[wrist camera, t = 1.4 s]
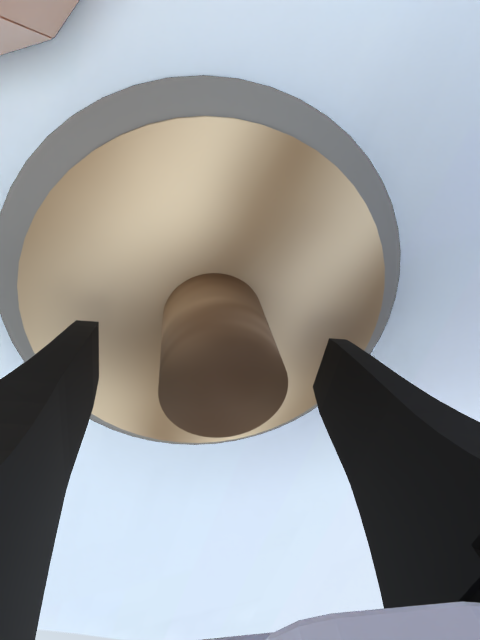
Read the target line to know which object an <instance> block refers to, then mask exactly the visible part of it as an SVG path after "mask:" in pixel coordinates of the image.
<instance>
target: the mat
mask: <svg viewBox="0 0 480 640" xmlns="http://www.w3.org/2000/svg"><path fill="white" fill-rule="evenodd" d="M193 116H217V117H230V118H237V119H241V120H246V121H250V122H254V123H259V124H262V125H265V126H267V127H270V128H272V129H275V130H277V131H280V132H283V133H285V134H288V135H290V136H293V137H294V138H296V139H298V140H300V141H301V142H303V143H305V144H306V145H308V146H310V147H312V148H313V149H315V150H317V151H318V152H319V153H320V154H322V155H323V156H324V157H325V158H327V159H328V160H329V161H330V162H332V163H333V164H334V165H335V166H337V167H338V169H339V170H340V171H341V172H342V173H343V174H344V175H345V176H346V177H347V178H348V180H349V181H350V182H351V183H352V184H353V185H354V187H355V188H356V190H357V191H358V193H359V194H360V196H361V197H362V199H363V200H364V202H365V203H366V205H367V207H368V209H369V211H370V213H371V215H372V218H373V220H374V222H375V224H376V227H377V230H378V234H379V237H380V241H381V245H382V250H383V257H384V265H385V285H384V294H383V301H382V307H381V311H380V314H379V317H378V321H377V324H376V327H375V329H374V332H373V334H372V336H371V339H370V341H369V343H368V345H367V347H366V348H365V350H364V351H365V352H367V353H368V354H370V353H371V352H372V350H373V348H374V347H375V345H376V343H377V342H378V340H379V338H380V337H381V335H382V332H383V330H384V328H385V326H386V324H387V321H388V319H389V317H390V313H391V310H392V307H393V304H394V301H395V297H396V292H397V287H398V281H399V275H400V242H399V232H398V226H397V222H396V218H395V214H394V210H393V206H392V203H391V200H390V198H389V196H388V193H387V191H386V188H385V186H384V184H383V181H382V179H381V178H380V176H379V174H378V173H377V171H376V169H375V168H374V166H373V164H372V163H371V161H370V160H369V158H368V157H367V155H366V154H365V153H364V152H363V151H362V149H361V148H360V147H359V146H358V145H357V144H356V142H355V141H354V140H353V139H352V138H351V136H350V135H348V134H347V133H346V132H345V131H344V130H343V129H342V128H340V127H339V126H338V125H337V124H336V123H335V122H333V121H332V120H331V119H330V118H329V117H328V116H326V115H325V114H323V113H321V112H320V111H318V110H317V109H315V108H313V107H312V106H310V105H309V104H307V103H305V102H304V101H302V100H300V99H298V98H296V97H293V96H291V95H289V94H286V93H284V92H282V91H279V90H277V89H275V88H272V87H269V86H265V85H261V84H257V83H253V82H249V81H246V80H242V79H237V78H226V77H215V76H204V75H203V76H187V77H171V78H165V79H160V80H156V81H151V82H147V83H142V84H138V85H134V86H131V87H129V88H126V89H124V90H121V91H119V92H116V93H113V94H111V95H108V96H106V97H103V98H101V99H100V100H98V101H96V102H94V103H93V104H91V105H89V106H88V107H86V108H84V109H83V110H81V111H79V112H78V113H76V114H74V115H73V116H71V117H70V118H69V119H68V120H67V121H65V122H64V123H63V124H62V125H61V126H59V127H58V128H57V129H56V130H55V131H53V132H52V133H51V134H50V135H49V136H47V138H46V139H45V140H44V141H43V142H42V143H41V145H40V146H39V147H38V148H37V149H36V150H35V152H34V153H33V154H32V155H31V156H30V157H29V159H28V160H27V161H26V162H25V164H24V166H23V167H22V169H21V171H20V172H19V174H18V176H17V177H16V179H15V181H14V182H13V184H12V186H11V187H10V190H9V192H8V195H7V197H6V200H5V202H4V205H3V208H2V210H1V213H0V313H1V317H2V320H3V323H4V325H5V327H6V329H7V332H8V334H9V336H10V338H11V341H12V343H13V344H14V346H15V348H16V349H17V351H18V352H19V354H20V356H21V357H22V359H23V360H24V362H26V361H27V360H29V359H30V358H31V357H32V356H34V355H35V353H34V352H33V350H32V347H31V345H30V342H29V340H28V338H27V335H26V333H25V330H24V327H23V323H22V318H21V314H20V310H19V302H18V290H17V281H18V267H19V260H20V256H21V252H22V247H23V243H24V239H25V236H26V234H27V232H28V229H29V227H30V225H31V223H32V220H33V218H34V216H35V214H36V212H37V210H38V209H39V207H40V206H41V204H42V203H43V201H44V200H45V198H46V197H47V195H48V193H49V192H50V191H51V190H52V188H53V187H54V186H55V185H56V184H57V183H58V182H59V181H60V180H61V178H62V177H63V176H64V175H65V174H66V173H67V172H68V171H69V170H70V169H71V168H72V167H74V166H75V165H76V164H77V163H79V162H80V161H81V160H82V159H84V158H85V157H86V156H87V155H89V154H90V153H91V152H92V151H94V150H95V149H97V148H98V147H100V146H102V145H104V144H105V143H107V142H109V141H110V140H112V139H114V138H116V137H117V136H119V135H121V134H123V133H126V132H129V131H131V130H134V129H136V128H139V127H141V126H144V125H147V124H150V123H155V122H159V121H164V120H168V119H173V118H178V117H193ZM317 406H318V405H317V404H315V405H314V406H313V407H311V408H310V409H308V410H307V411H305V412H304V413H302V414H300V415H299V416H297V417H295V418H293V419H291V420H290V421H288V422H286V423H283V424H281V425H279V426H277V427H274V428H272V429H269V430H266V431H264V432H261V433H258V434H255V435H251V436H247V437H243V438H239V439H234V440H227V441H220V442H208V443H181V442H172V441H164V440H158V439H153V438H149V437H145V436H141V435H138V434H135V433H132V432H129V431H126V430H123V429H120V428H118V427H116V426H114V425H112V424H109V423H107V422H105V421H103V420H101V419H100V418H98V417H96V416H95V415H93V414H91V416H90V419H91V420H93V421H94V422H97V423H99V424H101V425H103V426H106V427H108V428H110V429H112V430H115V431H118V432H121V433H124V434H127V435H130V436H133V437H137V438H142V439H146V440H151V441H156V442H164V443H171V444H192V445H198V444H215V443H222V442H229V441H236V440H240V439H244V438H248V437H252V436H256V435H259V434H262V433H265V432H268V431H271V430H274V429H276V428H279V427H281V426H283V425H285V424H288V423H290V422H292V421H294V420H296V419H298V418H299V417H301V416H303V415H305V414H306V413H308V412H310V411H312V410H313V409H314V408H316V407H317Z"/></svg>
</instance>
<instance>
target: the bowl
mask: <svg viewBox="0 0 480 640" xmlns="http://www.w3.org/2000/svg"><path fill="white" fill-rule="evenodd" d="M78 1H79V0H0V55H3V54H6V53H9V52H12V51H16V50H19V49H22V48H25V47H29V46H32V45H35V44H38V43H42V42H45V41H48V40H51V39H52V38H54V37H55V36H56V34H57V33H58V31H59V30H60V28H61V27H62V25H63V24H64V22H65V21H66V19H67V18H68V16H69V15H70V13H71V12H72V10H73V9H74V7H75V6H76V4H77V3H78Z"/></svg>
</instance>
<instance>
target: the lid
mask: <svg viewBox="0 0 480 640" xmlns="http://www.w3.org/2000/svg"><path fill="white" fill-rule="evenodd" d="M384 285H385V265H384V257H383V250H382V245H381V241H380V237H379V234H378V230H377V227H376V224H375V222H374V220H373V218H372V215H371V213H370V211H369V209H368V207H367V205H366V203H365V202H364V200H363V199H362V197H361V196H360V194H359V193H358V191H357V190H356V188H355V187H354V185H353V184H352V183H351V182H350V181H349V180H348V178H347V177H346V176H345V175H344V174H343V173H342V172H341V171H340V170H339V169H338V167H337V166H335V165H334V164H333V163H332V162H330V161H329V160H328V159H327V158H325V157H324V156H323V155H322V154H320V153H319V152H318V151H317V150H315V149H313V148H312V147H310V146H308V145H306V144H305V143H303V142H301V141H300V140H298V139H296V138H294V137H293V136H290V135H288V134H285V133H283V132H280V131H277V130H275V129H272V128H270V127H267V126H265V125H262V124H259V123H254V122H250V121H246V120H241V119H237V118H230V117H217V116H193V117H178V118H173V119H168V120H164V121H159V122H155V123H150V124H147V125H144V126H141V127H139V128H136V129H134V130H131V131H129V132H126V133H123V134H121V135H119V136H117V137H116V138H114V139H112V140H110V141H109V142H107V143H105V144H104V145H102V146H100V147H98V148H97V149H95V150H94V151H92V152H91V153H90V154H89V155H87V156H86V157H85V158H84V159H82V160H81V161H80V162H79V163H77V164H76V165H75V166H74V167H72V168H71V169H70V170H69V171H68V172H67V173H66V174H65V175H64V176H63V177H62V178H61V180H60V181H59V182H58V183H57V184H56V185H55V186H54V187H53V188H52V190H51V191H50V192H49V193H48V195H47V197H46V198H45V200H44V201H43V203H42V204H41V206H40V207H39V209H38V210H37V212H36V214H35V216H34V218H33V220H32V223H31V225H30V227H29V229H28V232H27V234H26V236H25V239H24V243H23V247H22V252H21V256H20V260H19V267H18V281H17V290H18V302H19V310H20V314H21V318H22V323H23V327H24V330H25V333H26V335H27V338H28V340H29V342H30V345H31V347H32V350H33V352H34V353H35V354H36V353H37V352H39V351H40V350H41V349H42V348H44V347H45V346H46V345H47V344H49V343H50V342H51V341H52V340H53V339H55V338H56V337H57V336H58V335H59V334H60V333H61V332H63V331H64V330H65V329H66V328H67V327H68V326H70V325H71V324H72V323H73V322H75V321H76V320H81V321H95V322H99V381H98V386H97V391H96V396H95V401H94V406H93V410H92V413H91V414H93V415H95V416H96V417H98V418H100V419H101V420H103V421H105V422H107V423H109V424H112V425H114V426H116V427H118V428H120V429H123V430H126V431H129V432H132V433H135V434H138V435H141V436H145V437H149V438H153V439H158V440H164V441H172V442H181V443H208V442H220V441H227V440H234V439H239V438H243V437H247V436H251V435H255V434H258V433H261V432H264V431H266V430H269V429H272V428H274V427H277V426H279V425H281V424H283V423H286V422H288V421H290V420H291V419H293V418H295V417H297V416H299V415H300V414H302V413H304V412H305V411H307V410H308V409H310V408H311V407H313V406H314V405H315V404H317V402H316V398H315V394H314V390H313V384H314V381H315V378H316V375H317V372H318V369H319V366H320V364H321V361H322V358H323V355H324V352H325V349H326V346H327V343H328V340H329V338H333V339H346V340H348V341H350V342H352V343H353V344H355V345H356V346H358V347H360V348H361V349H362V350H365V348H366V347H367V345H368V343H369V341H370V339H371V336H372V334H373V332H374V329H375V327H376V324H377V321H378V317H379V314H380V311H381V307H382V301H383V294H384Z"/></svg>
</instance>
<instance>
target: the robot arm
mask: <svg viewBox="0 0 480 640" xmlns="http://www.w3.org/2000/svg"><path fill="white" fill-rule="evenodd" d="M98 381H99V322H95V321H81V320H76V321H75V322H73V323H72V324H71V325H70V326H68V327H67V328H66V329H65V330H64V331H63V332H61V333H60V334H59V335H58V336H57V337H56V338H55V339H53V340H52V341H51V342H50V343H49V344H47V345H46V346H45V347H44V348H42V349H41V350H40V351H39V352H37V353H36V354H35V355H34V356H32V357H31V358H30V359H29V360H27V361H26V362H25V363H23V364H22V365H20V366H19V367H18V368H16V369H15V370H13V371H12V372H11V373H9V374H8V375H6V376H5V377H3V378H2V379H0V640H35V636H36V631H37V626H38V621H39V615H40V610H41V605H42V600H43V595H44V590H45V586H46V581H47V576H48V571H49V566H50V561H51V556H52V552H53V547H54V542H55V538H56V533H57V528H58V524H59V519H60V515H61V511H62V506H63V502H64V497H65V493H66V489H67V486H68V482H69V479H70V475H71V472H72V469H73V466H74V463H75V460H76V457H77V454H78V451H79V448H80V446H81V443H82V440H83V437H84V434H85V431H86V428H87V425H88V422H89V419H90V416H91V413H92V410H93V406H94V401H95V396H96V391H97V386H98ZM313 390H314V394H315V398H316V402H317V405H318V409H319V412H320V415H321V417H322V420H323V422H324V424H325V427H326V429H327V431H328V434H329V436H330V438H331V441H332V443H333V445H334V447H335V450H336V452H337V454H338V456H339V459H340V461H341V463H342V465H343V468H344V470H345V472H346V475H347V477H348V480H349V482H350V485H351V488H352V491H353V494H354V497H355V500H356V503H357V507H358V510H359V513H360V516H361V519H362V523H363V526H364V530H365V533H366V537H367V540H368V544H369V547H370V551H371V555H372V559H373V563H374V567H375V571H376V575H377V579H378V583H379V587H380V592H381V596H382V601H383V606H384V609H376V610H365V611H354V612H343V613H333V614H327V615H322V616H318V617H313V618H308V619H304V620H299V621H297V622H295V623H293V624H290V625H288V626H286V627H284V628H282V629H280V630H278V631H276V632H273V633H263V634H253V635H243V636H234V637H224V638H214V639H204V640H480V422H478V421H476V420H474V419H472V418H470V417H468V416H466V415H464V414H462V413H460V412H458V411H457V410H455V409H453V408H451V407H449V406H448V405H446V404H444V403H442V402H440V401H439V400H437V399H435V398H434V397H432V396H430V395H429V394H427V393H425V392H424V391H422V390H421V389H419V388H418V387H416V386H414V385H413V384H411V383H410V382H408V381H407V380H405V379H404V378H402V377H401V376H399V375H398V374H397V373H395V372H394V371H392V370H391V369H389V368H388V367H387V366H385V365H384V364H382V363H381V362H380V361H378V360H377V359H375V358H374V357H373V356H371V355H370V354H368V353H367V352H365V351H364V350H362V349H361V348H360V347H358V346H356V345H355V344H353V343H352V342H350V341H348V340H346V339H333V338H329V340H328V343H327V346H326V349H325V352H324V355H323V358H322V361H321V364H320V366H319V369H318V372H317V375H316V378H315V381H314V384H313Z"/></svg>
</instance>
